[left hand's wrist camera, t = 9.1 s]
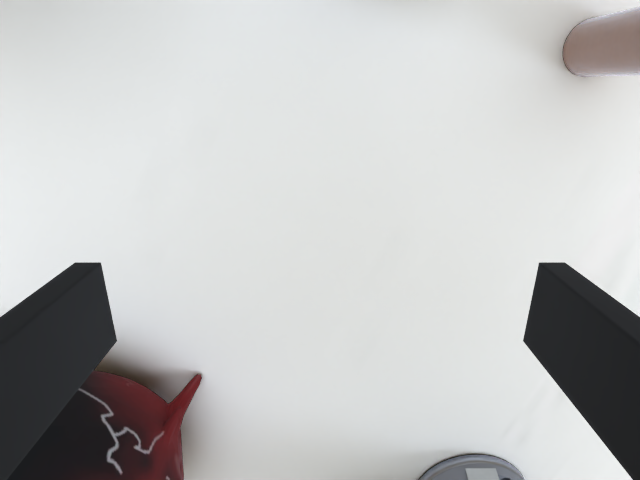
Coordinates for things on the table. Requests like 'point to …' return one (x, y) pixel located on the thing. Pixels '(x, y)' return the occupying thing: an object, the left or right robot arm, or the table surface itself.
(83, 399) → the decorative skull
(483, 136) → the table surface
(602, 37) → the bottle
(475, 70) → the table surface
